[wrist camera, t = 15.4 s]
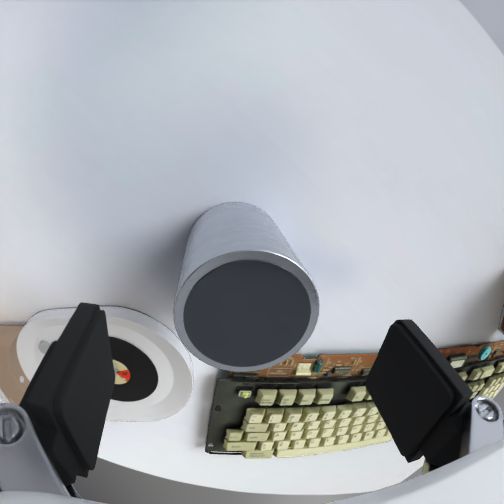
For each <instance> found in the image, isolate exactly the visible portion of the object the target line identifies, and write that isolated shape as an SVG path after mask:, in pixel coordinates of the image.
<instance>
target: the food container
mask: <svg viewBox="0 0 504 504" xmlns="http://www.w3.org/2000/svg"><path fill="white" fill-rule="evenodd" d="M499 330H500V331H501V332H502V333H503V335H504V306H503V311H502V316H501V320H500V325H499Z"/></svg>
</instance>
